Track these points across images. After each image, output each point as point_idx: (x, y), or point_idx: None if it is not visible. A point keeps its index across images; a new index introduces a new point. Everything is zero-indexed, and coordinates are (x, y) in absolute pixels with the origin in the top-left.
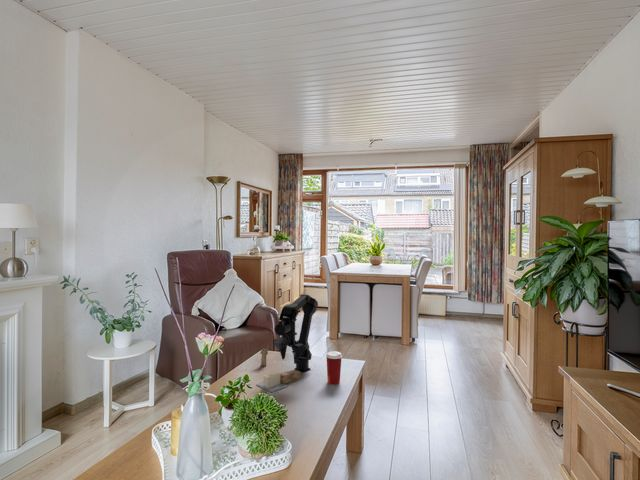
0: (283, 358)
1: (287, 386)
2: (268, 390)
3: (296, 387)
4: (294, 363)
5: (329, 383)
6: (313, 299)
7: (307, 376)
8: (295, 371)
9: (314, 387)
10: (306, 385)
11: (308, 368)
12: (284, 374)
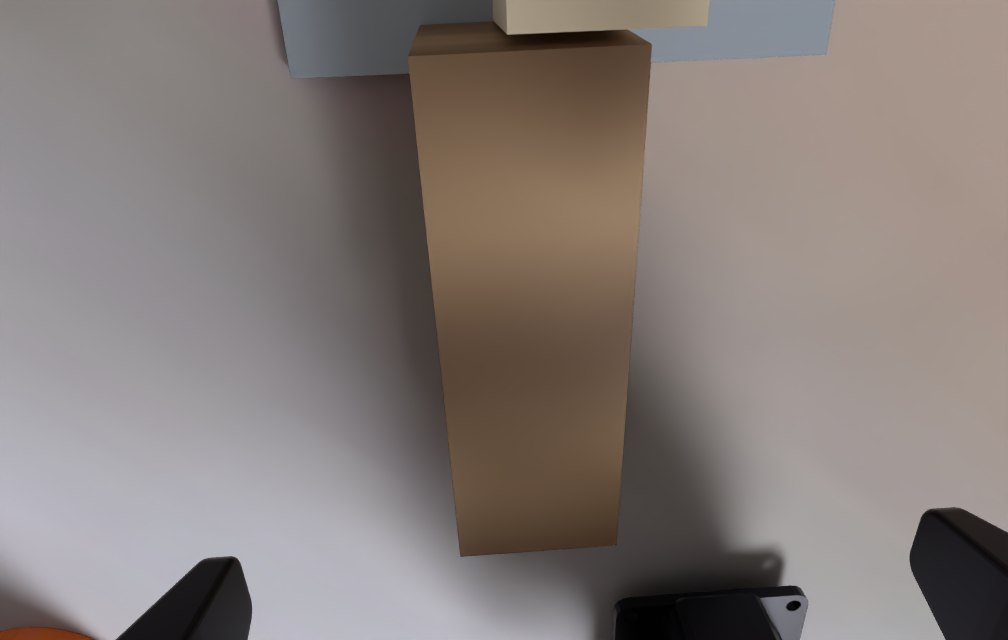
0: (940, 557)
1: (293, 65)
2: None
3: (166, 189)
4: (203, 565)
5: (21, 636)
6: None
7: (472, 577)
8: (526, 491)
9: (8, 420)
10: (157, 376)
11: None
12: (494, 174)
